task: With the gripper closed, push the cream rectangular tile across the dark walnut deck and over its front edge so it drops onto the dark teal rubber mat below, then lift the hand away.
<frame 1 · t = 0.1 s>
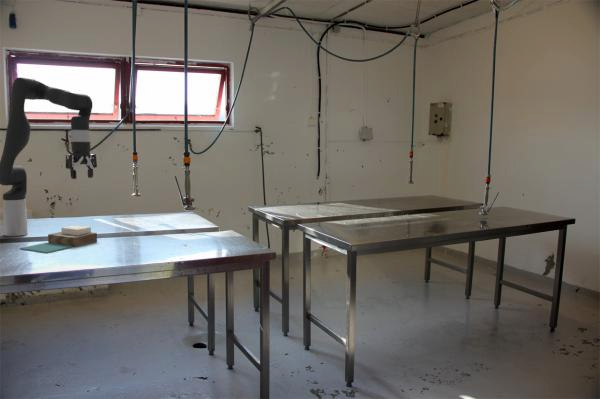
hand: (82, 178, 201), 29 cm above the table, fingers open, 8 cm apart
cream rectangular tile: (76, 232, 207), point 4 cm above the table, touching deck
mat: (46, 248, 193), on the table
deck: (73, 242, 205), on the table
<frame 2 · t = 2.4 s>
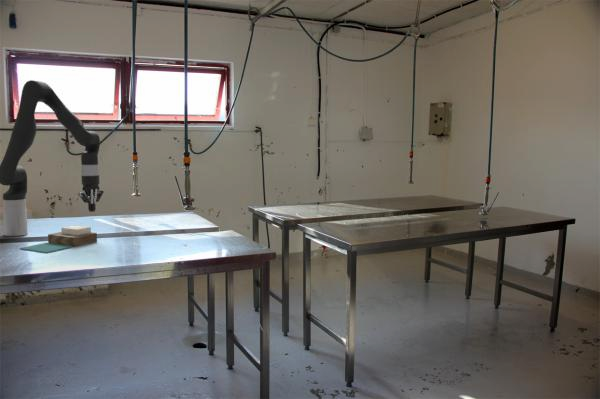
hand: (92, 211, 215), 12 cm above the table, fingers closed
nothing on the table moved.
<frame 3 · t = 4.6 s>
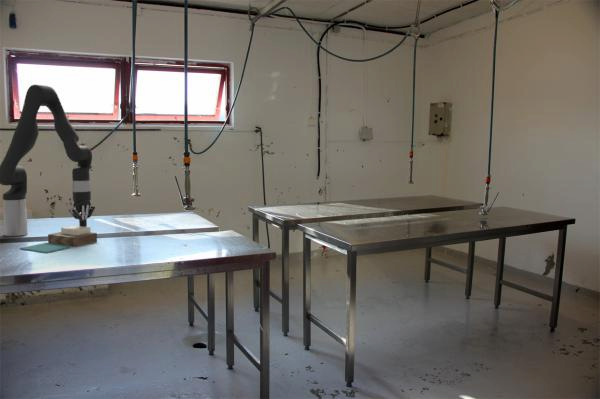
hand: (83, 227, 211), 5 cm above the table, fingers closed
cream rectangular tile: (76, 233, 206), point 4 cm above the table, touching deck, gripper
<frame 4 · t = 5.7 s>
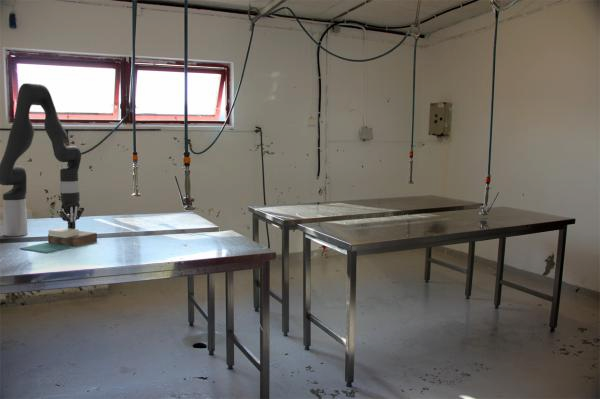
hand: (71, 229, 205), 6 cm above the table, fingers closed
cream rectangular tile: (63, 235, 201), point 4 cm above the table, touching deck, gripper
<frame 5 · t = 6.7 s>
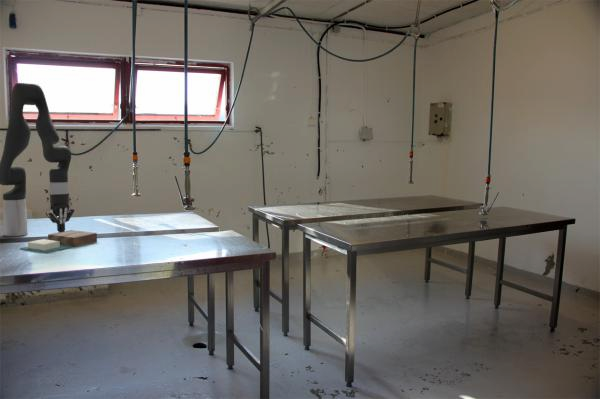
hand: (61, 232, 201), 6 cm above the table, fingers closed
cream rectangular tile: (43, 241, 192), point 3 cm above the table, tilted 180°, touching mat
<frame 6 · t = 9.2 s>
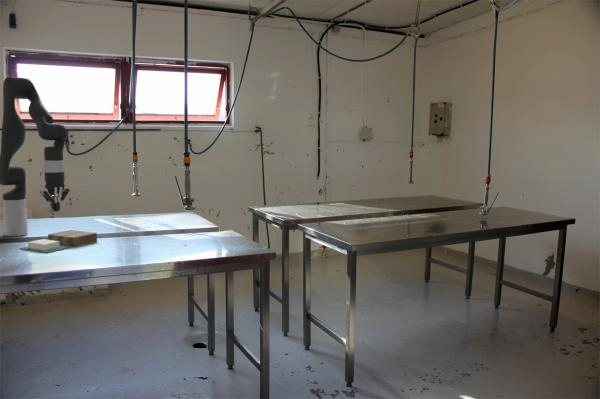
hand: (56, 211, 198), 15 cm above the table, fingers closed
nothing on the table moved.
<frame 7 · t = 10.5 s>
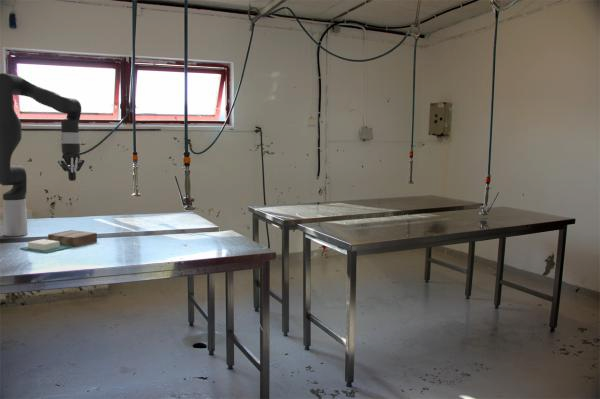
hand: (72, 180, 211), 27 cm above the table, fingers closed
nothing on the table moved.
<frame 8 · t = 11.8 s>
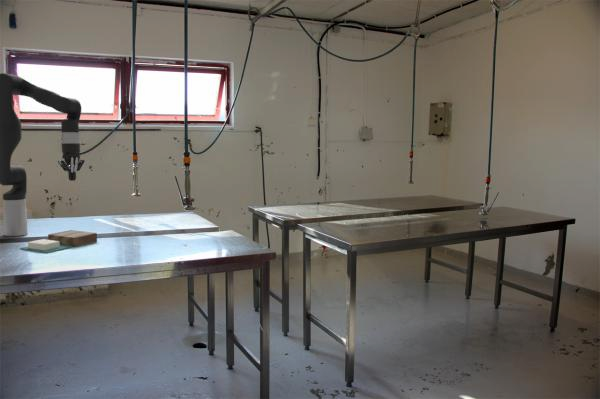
hand: (72, 180, 211), 27 cm above the table, fingers closed
nothing on the table moved.
at the end: cream rectangular tile inside the target area (0.8 cm from its centre), point 3.0 cm above the table; cream rectangular tile touching mat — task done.
